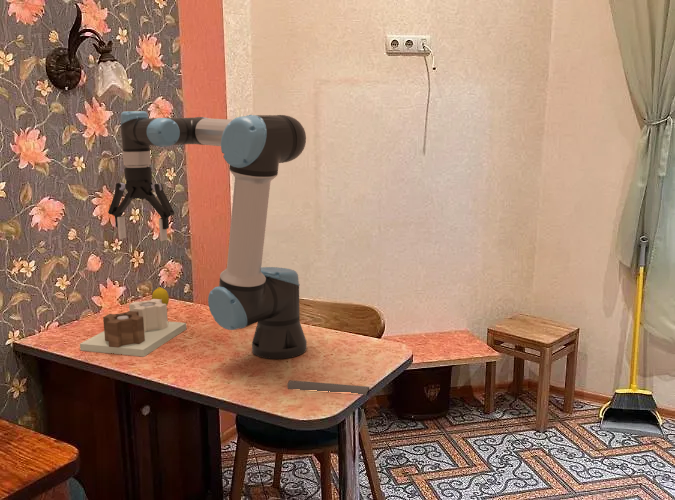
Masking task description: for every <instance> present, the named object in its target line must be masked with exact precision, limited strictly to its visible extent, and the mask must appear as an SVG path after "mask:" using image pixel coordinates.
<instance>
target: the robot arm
mask: <svg viewBox="0 0 675 500" xmlns="http://www.w3.org/2000/svg"><path fill="white" fill-rule="evenodd" d="M119 127H120V134H121V143H122V146H121V147H122V157H123V158H122V159H123V165H124V166H125V167H124V170H123V171H124V172H123V173H124V180H125V182H123V181H122V182H118V183H115V192H114V194H113V198H112V200H111V202H110V207H109V209H108V211H107V213H108V215H112V216H114V222H115V228H117V233H118V240H123V239H126V238H127V229H126V219H125V218H126V216H125V215H124V212H125V211H126V209H127V208H128V207H129V205H130V204H131V202H132V201H133V200H138V199H139V200H144V199H145V201H147V202H148V203H149V204H150V205H151V206H152V208H153V209H154V210H155V212H156V213H157V214H158V215H159V217H160V218H158V226H159V241H160V242H164V241H167V240H168V229H169V227H170V220H169V217H172V216H175V214H176V213H175V210H174V209H173V207H172V205H171V203H170V201H169V199H168V197H167V194H166V193H165V191H164V186H163V183H161V182H159V183H153V181H152V180H153V171H152V167H151V166H150V165H152V158H151V147H159V148H160V147H161V148H166V147H172V146H179V145H180V146H181V145H199V146H214V147H215V146H216V147H220V150H221V153H222V154H223V159H224V160H225V162H226V163H227V165H229V167H228V168H229V169H228V171H229V172H230V173H231V174H232V175H233V176H234V186H233V195H232V196H233V197H232V204H231V205H232V207H231V215H230V218H231V219H230V231H229V237H228V238H229V240H228V241H229V242H228V251H227V263H226V268H225V269H224V270H223V271H221V272H220V274H219V284H218V286H215V287H214V288H212V290H210V291H209V293H208V298H207V303H208V308H209V311H210V314H211V316H212V317H213V320H214V321H215V323H217V324H218V325H219V326H220V327H222V328H223V329H224V330H228V331H234V330H237V329H244V328H246V327H248V326H251V325H254V324H256V328H255V331H254V334H253V337H252V341H251V349H252V350H251V351H252V353H253V355H255V356H257V357H259V358H263V359H271V360H283V359H291V358H294V357H297V356H298V357H299V356H300V355H302V354H304V353H305V352H306V351H307V349H308V348H307V347H308V346H307V345H308V344H307V343H308V342H307V339H306V338H307V337H306V336H305V333H304V331H303V327H302V324H301V322H300V320H301V319H300V317H301V316H300V315H301V313H300V281H299V274H298V272H297V271H295V270H294V269H291V268H286V267H278V266H274V267H273V266H264V267H263V266H262V263H263V254H264V244H265V236H266V235H265V234H266V227H267V225H266V224H267V218H268V208H269V198H270V189H271V181H272V180H274V179H276V177H278V175H279V164H281V163H282V164H284V163H289V162H291V161H294V160H295V159H297V158H298V157H299V156H300V155H302V153H303V152H304V149H305V147H306V144H307V143H306V142H307V135H306V134H307V133H306V131H305V128H304V127H303V124H301V122H300V121H299V120H297V119H296V118H295V117H293V116H289V115H285V114H277V115H276V114H275V115H274V114H273V115H271V114H269V115H268V114H267V115H266V114H262V115H261V114H249V115H245V116H244V115H241V116H238V117H235V118H233V119H227V118H212V117H211V118H209V117H203V116H197V117H196V116H195V117H153V118H149V115H148V112H147V111H145V110H144V111H143V110H140V111H139V110H138V111H135V110H134V111H133V110H132V111H131V110H130V111H127V110H126V111H122V112H121V113H120V126H119ZM125 191H126V194H125V193H124V192H125ZM153 191H154V192H155V194H154V193H153ZM124 194H125V196H124V198H123V195H124ZM156 196H157V198H156ZM122 198H123V199H122Z"/></svg>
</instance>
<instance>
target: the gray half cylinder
mask: <svg viewBox="0 0 675 500" xmlns="http://www.w3.org/2000/svg"><path fill="white" fill-rule="evenodd" d="M287 389H288V390H293V389H300V390H299V391H305V390H317V391H328V392H327V393H329V391H330V392H351V393H358V394H363V395H362V396H367V394H368V392H369V390H370V386H365V385H355V384H354V385H353V384H341V383H328V382H317V381H304V380H303V381H302V380H291V379H289V380H288V382H287ZM317 391H316V392H317Z"/></svg>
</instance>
